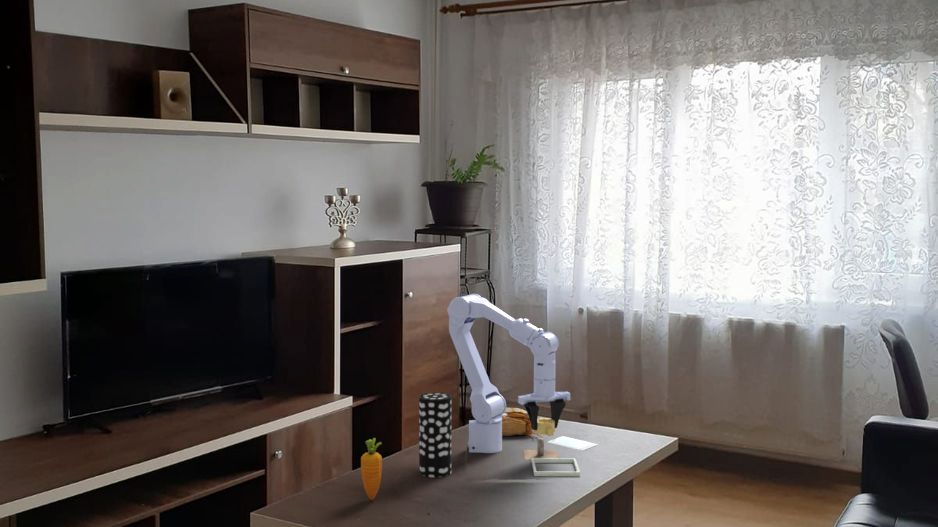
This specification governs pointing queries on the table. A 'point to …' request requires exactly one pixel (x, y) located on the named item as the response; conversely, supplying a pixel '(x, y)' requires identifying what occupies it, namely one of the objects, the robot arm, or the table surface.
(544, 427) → the ring
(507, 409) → the nautilus
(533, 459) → the tray
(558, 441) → the hard drive
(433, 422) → the spotted tube
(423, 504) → the table surface
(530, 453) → the tan square peg base
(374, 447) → the carrot
